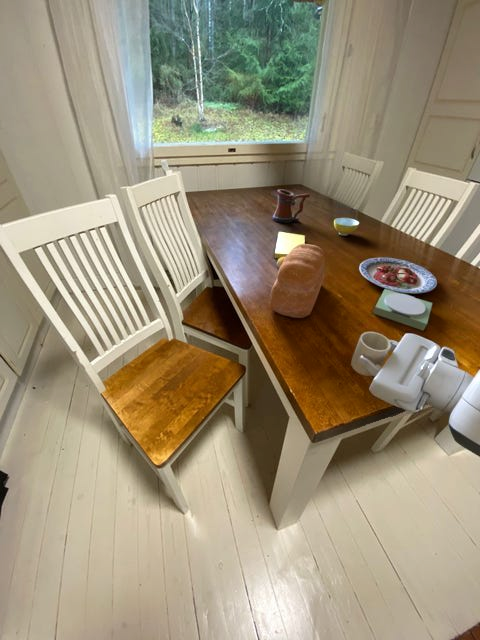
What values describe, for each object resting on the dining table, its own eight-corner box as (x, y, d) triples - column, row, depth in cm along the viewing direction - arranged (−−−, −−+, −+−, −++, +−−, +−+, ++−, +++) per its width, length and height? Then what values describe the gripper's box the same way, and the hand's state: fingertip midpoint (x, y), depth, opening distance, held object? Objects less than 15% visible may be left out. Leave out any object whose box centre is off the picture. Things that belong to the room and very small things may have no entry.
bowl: (329, 229, 139) (331, 217, 135) (351, 230, 139) (355, 217, 135) (334, 238, 130) (337, 225, 126) (358, 238, 130) (362, 225, 126)
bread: (265, 312, 84) (269, 267, 74) (288, 273, 103) (293, 234, 93) (308, 323, 80) (318, 278, 70) (324, 281, 98) (334, 241, 89)
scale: (428, 309, 86) (433, 301, 84) (423, 330, 78) (428, 322, 76) (382, 295, 92) (385, 287, 90) (372, 313, 84) (375, 305, 82)
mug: (306, 218, 152) (310, 189, 143) (304, 225, 143) (309, 195, 134) (274, 215, 156) (276, 186, 146) (271, 222, 147) (273, 192, 137)
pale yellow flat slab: (303, 260, 111) (303, 238, 130) (304, 255, 110) (304, 233, 128) (274, 257, 113) (278, 236, 131) (274, 253, 112) (278, 231, 130)
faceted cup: (381, 363, 65) (393, 338, 60) (374, 380, 61) (387, 355, 56) (355, 352, 67) (364, 328, 62) (347, 368, 63) (356, 343, 58)
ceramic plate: (358, 258, 113) (360, 251, 112) (427, 269, 107) (431, 262, 105) (357, 289, 94) (359, 282, 93) (440, 304, 88) (445, 297, 86)
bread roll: (275, 262, 110) (275, 253, 107) (296, 262, 110) (298, 252, 108) (278, 272, 103) (279, 263, 101) (301, 272, 104) (303, 262, 101)
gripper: (412, 426, 50) (342, 384, 57) (441, 365, 62) (380, 337, 69) (427, 406, 46) (350, 364, 53) (455, 345, 58) (388, 317, 65)
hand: (367, 348), depth 61 cm, fingers closed on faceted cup, 6 cm apart
